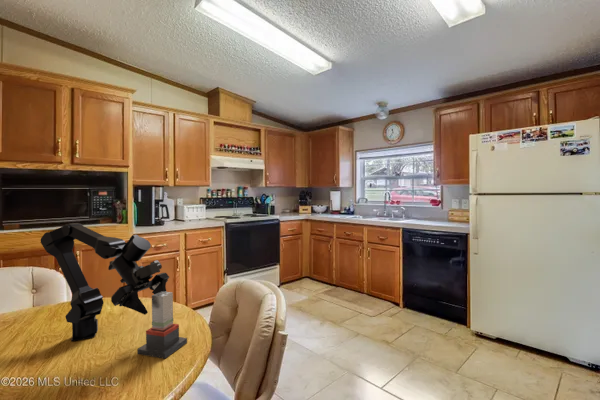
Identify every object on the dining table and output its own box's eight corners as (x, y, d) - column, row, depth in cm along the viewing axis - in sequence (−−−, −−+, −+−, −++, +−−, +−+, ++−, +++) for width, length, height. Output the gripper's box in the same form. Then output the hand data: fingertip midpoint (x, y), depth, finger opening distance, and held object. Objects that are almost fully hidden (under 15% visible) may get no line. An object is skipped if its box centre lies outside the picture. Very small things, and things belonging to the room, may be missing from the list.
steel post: (151, 334, 92) (151, 295, 92) (162, 328, 96) (161, 291, 96) (163, 336, 91) (163, 296, 91) (173, 330, 95) (173, 292, 95)
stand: (137, 353, 90) (137, 332, 90) (161, 338, 100) (161, 319, 100) (164, 358, 87) (164, 336, 87) (187, 342, 97) (186, 322, 97)
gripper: (118, 260, 86) (149, 302, 83) (164, 249, 104) (192, 283, 101) (97, 285, 89) (127, 326, 86) (146, 270, 107) (172, 304, 104)
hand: (157, 308), depth 94 cm, fingers open, 9 cm apart
